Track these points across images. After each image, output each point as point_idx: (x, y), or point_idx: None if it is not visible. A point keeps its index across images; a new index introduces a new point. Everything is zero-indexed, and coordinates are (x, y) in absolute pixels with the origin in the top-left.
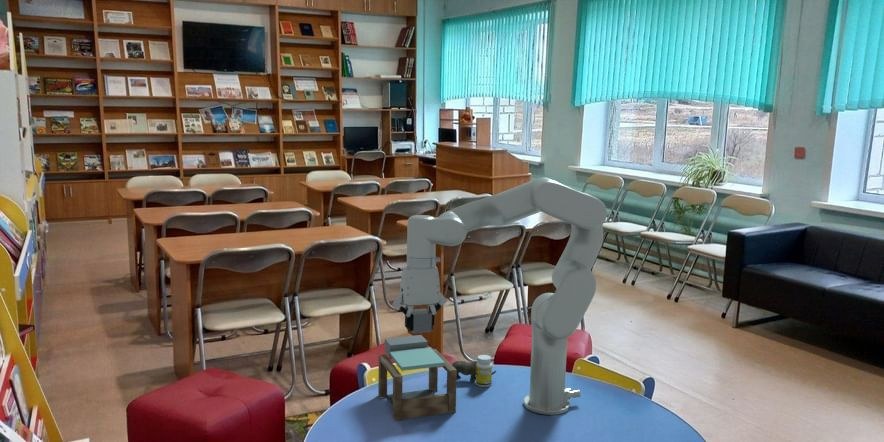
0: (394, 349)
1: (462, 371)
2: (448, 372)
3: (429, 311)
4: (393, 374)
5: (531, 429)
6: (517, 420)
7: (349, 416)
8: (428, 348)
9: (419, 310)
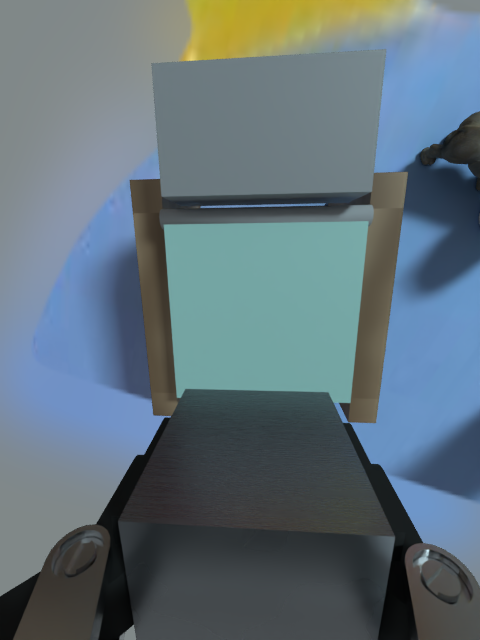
0: (189, 199)
1: (474, 169)
2: (346, 405)
3: (388, 616)
4: (152, 392)
5: (449, 473)
6: (447, 433)
7: (98, 305)
8: (354, 226)
9: (265, 580)
